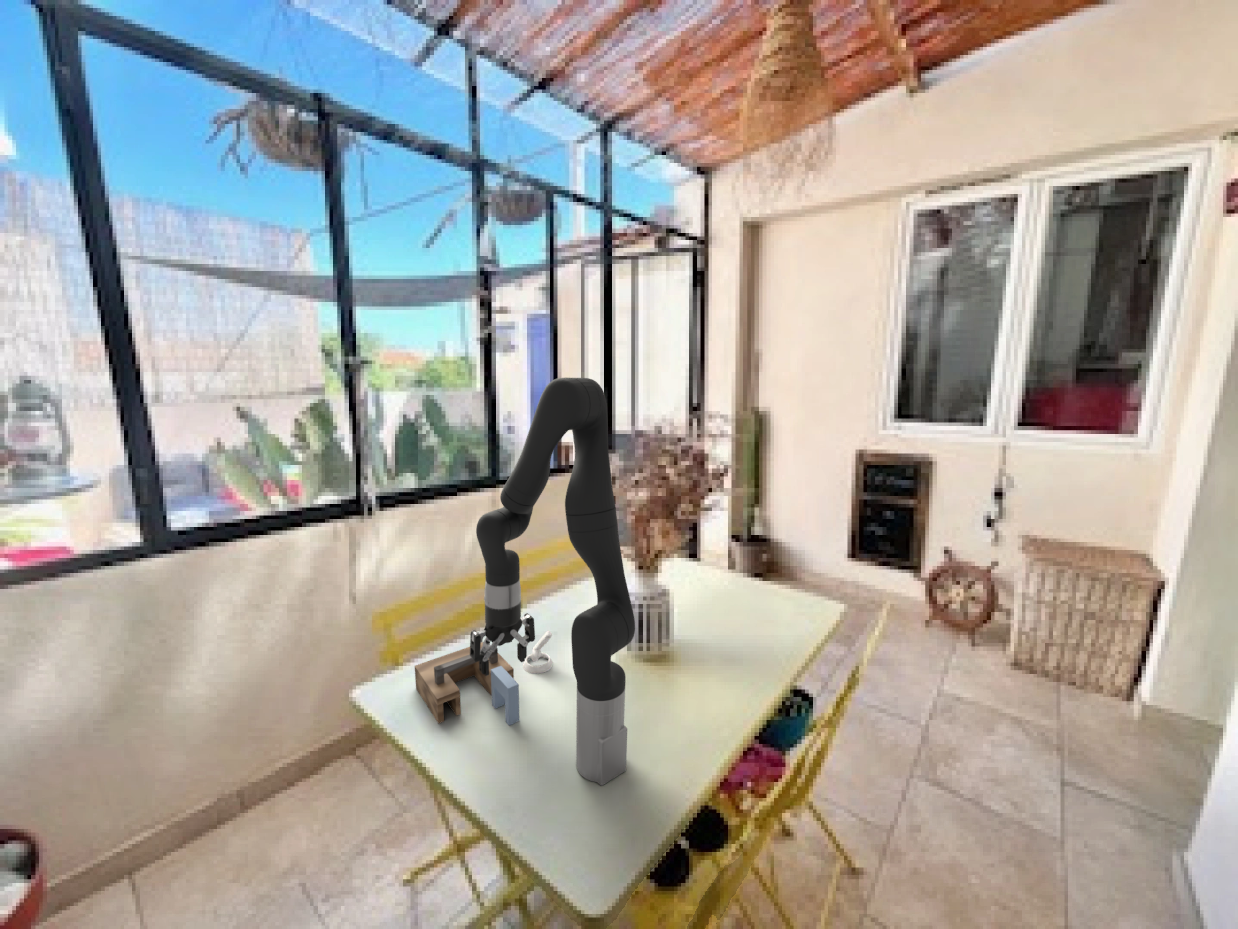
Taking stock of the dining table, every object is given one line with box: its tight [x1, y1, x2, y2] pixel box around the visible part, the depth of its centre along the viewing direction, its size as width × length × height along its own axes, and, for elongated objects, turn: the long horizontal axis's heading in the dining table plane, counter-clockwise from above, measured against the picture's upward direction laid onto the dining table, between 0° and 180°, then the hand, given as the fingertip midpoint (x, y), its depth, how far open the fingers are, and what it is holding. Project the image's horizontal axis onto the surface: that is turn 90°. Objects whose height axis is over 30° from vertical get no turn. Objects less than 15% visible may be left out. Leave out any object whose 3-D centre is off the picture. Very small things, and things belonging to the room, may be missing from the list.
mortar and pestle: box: [522, 630, 554, 675], centre depth 130 cm, size 8×12×7 cm
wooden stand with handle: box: [414, 641, 515, 725], centre depth 119 cm, size 15×18×10 cm
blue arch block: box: [491, 666, 520, 726], centre depth 112 cm, size 8×2×9 cm, turn 39°
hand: (503, 666), depth 111 cm, fingers open, 8 cm apart
